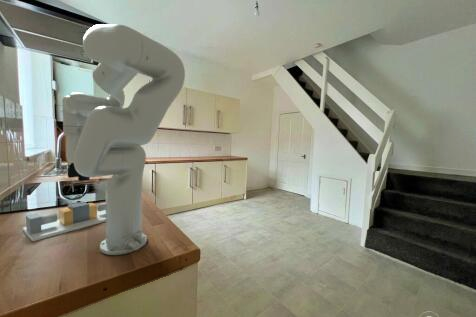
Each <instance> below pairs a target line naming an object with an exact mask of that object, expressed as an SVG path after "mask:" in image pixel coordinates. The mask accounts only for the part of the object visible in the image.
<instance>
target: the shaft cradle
mask: <svg viewBox="0 0 476 317" xmlns="http://www.w3.org/2000/svg"><path fill="white" fill-rule="evenodd" d="M96 205H97V218H95V219H91V220H87V221H83V222H79V223H75V224H71V225H67V226H63V225H62V224H61V223H59V218H58V215H57V213H56V212H53V213H49V214H43V215H40V214H38V212H37V213H31V214H26V215H25V222H26V223H25V224H26V226H24V227H22V231H23V232H24V234H26V235H27V237H28V238H29V239H30V240H31V242H36V241H39V240H42V239H48V238H50V237H54V236H58V235H61V234H64V233H65V234H66V233H68V232H71V231H76V230H80V229H83V228H86V227H89V226H94V225H98V224H101V223H104V222H105V223H106V202H103V203H97V204H96Z"/></svg>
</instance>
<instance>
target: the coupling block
mask: <svg viewBox="0 0 476 317" xmlns="http://www.w3.org/2000/svg"><path fill="white" fill-rule="evenodd" d="M58 217H59V218H58V219H59V223H61V224H62V225H63V226H67V225H71V224H75V223H79V222H83V221H87V220H91V219H95V218H97V204H95V203H93V202H88V203H87V202H86V201H80V202H74V203H70V204H67V207H60V208H58Z"/></svg>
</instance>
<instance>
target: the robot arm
mask: <svg viewBox="0 0 476 317" xmlns="http://www.w3.org/2000/svg"><path fill="white" fill-rule="evenodd" d="M82 50H83V52H84V54H85V56H86V57H87V58H88V59H90V60H91V61H93V62H95V63H98V64H97V65H96V66H95V68H94V69H93V71H92V80H93V81H94V82H95V84H96V86H98V88H100V89H101V90H102V91H104V92H105V93H107V95H109V96H108V97H102V96H97V95H92V94H87V93H83V92H70V93H69V94H68V95H65V96H63V98H62V99H61V100H62V101H61V102H62V103H61V104H62V106H61V107H62V131H63V136H66V140H65V141H66V142H65V156H66V161H67V177H68V178H70V179H71V178H77V180H78V181H79V182H84V181H90V178H99V177H106V176H107V177H108V176H111V178H110V179H109V181H108V182H107V185H106V188H105V203H106V221H105V239H103V240H102V241H101V242H100V244H99V251H100V252H101V253H103V254H104V255H108V256H109V255H110V256H118V255H119V256H120V255H126V254H129V253H133V252H135V251H138V250H140V248H143V247H144V246H145V245H146V243H147V242H148V237H147V235H146V234H145V233H144V232H143V230H142V229H143V228H142V227H143V226H142V218H143V215H142V214H143V213H142V212H143V209H142V208H143V207H142V206H143V201H142V200H143V197H142V196H143V195H142V194H143V177H144V170H145V165H146V162H147V161H146V160H147V156H146V155H147V154H146V151H145V149H144V147H143V146H144V145H147V144H149V142H151V141H152V139H153V138H154V136H155V135H156V132H157V130H158V129H159V126H160V125H161V123H162V121H163V119H164V118H165V115H166V114H167V111H168V109H169V108H170V106H172V104H173V102H174V101H175V100H176V98H177V97H178V96H179V95H180V93H181V91H182V89H183V86H184V83H185V79H186V78H185V77H186V72H185V71H186V70H185V66H184V63H183V61H182V59H181V58H180V57H179V55H177V54H176V53H175V52H174V51H173V50H171V49H170V48H168V46H165V45H163V44H161V43H160V42H158V41H156V40H154V39H152V38H150V37H148V36H146V35H145V34H143V33H141V32H139V31H137V30H135V29H134V28H131V27H130V26H127V25H123V24H115V23H111V24H107V23H106V24H104V23H103V24H102V23H101V24H95V25H93V26H92V27H90V28H89V29H88V30H86V32H85V34H84V36H83V40H82ZM138 74H140V75H142V76H146V77H150V78H151V81H149V82H147V83H145V84H144V85H143V86H141V87H140V88H139V89H138V90H137V91H136V92H135V93H134V95H133V97H132V100H131V102H130V104H129V105H128V106H127V107H124V105H125V99H126V97H125V91H124V89H125V88H126V87H127V85H128V84H129V83H130V82H131V81H133V80H134V78H135V77H136V76H137V75H138Z"/></svg>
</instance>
